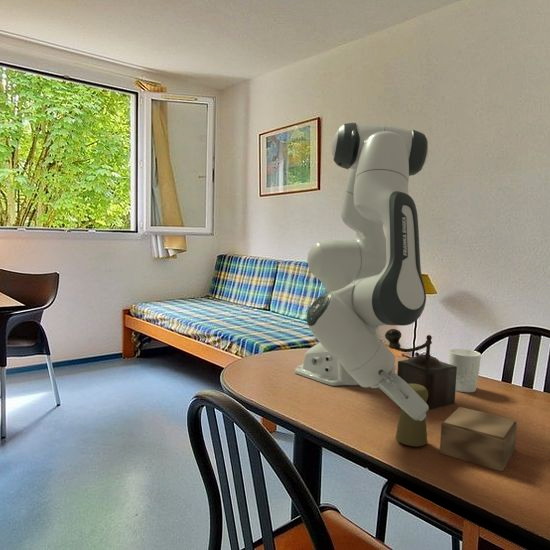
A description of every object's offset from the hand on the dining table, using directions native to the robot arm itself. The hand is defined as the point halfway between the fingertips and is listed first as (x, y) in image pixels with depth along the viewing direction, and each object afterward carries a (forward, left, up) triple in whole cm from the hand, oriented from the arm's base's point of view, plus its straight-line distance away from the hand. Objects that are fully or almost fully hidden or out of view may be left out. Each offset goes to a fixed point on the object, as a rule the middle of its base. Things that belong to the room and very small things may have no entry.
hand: (416, 411), depth 94 cm
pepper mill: (-8, +23, -7) cm, 26 cm away
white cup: (-2, +41, -7) cm, 42 cm away
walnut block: (+11, +4, -6) cm, 13 cm away
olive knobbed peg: (-1, 0, -6) cm, 6 cm away
